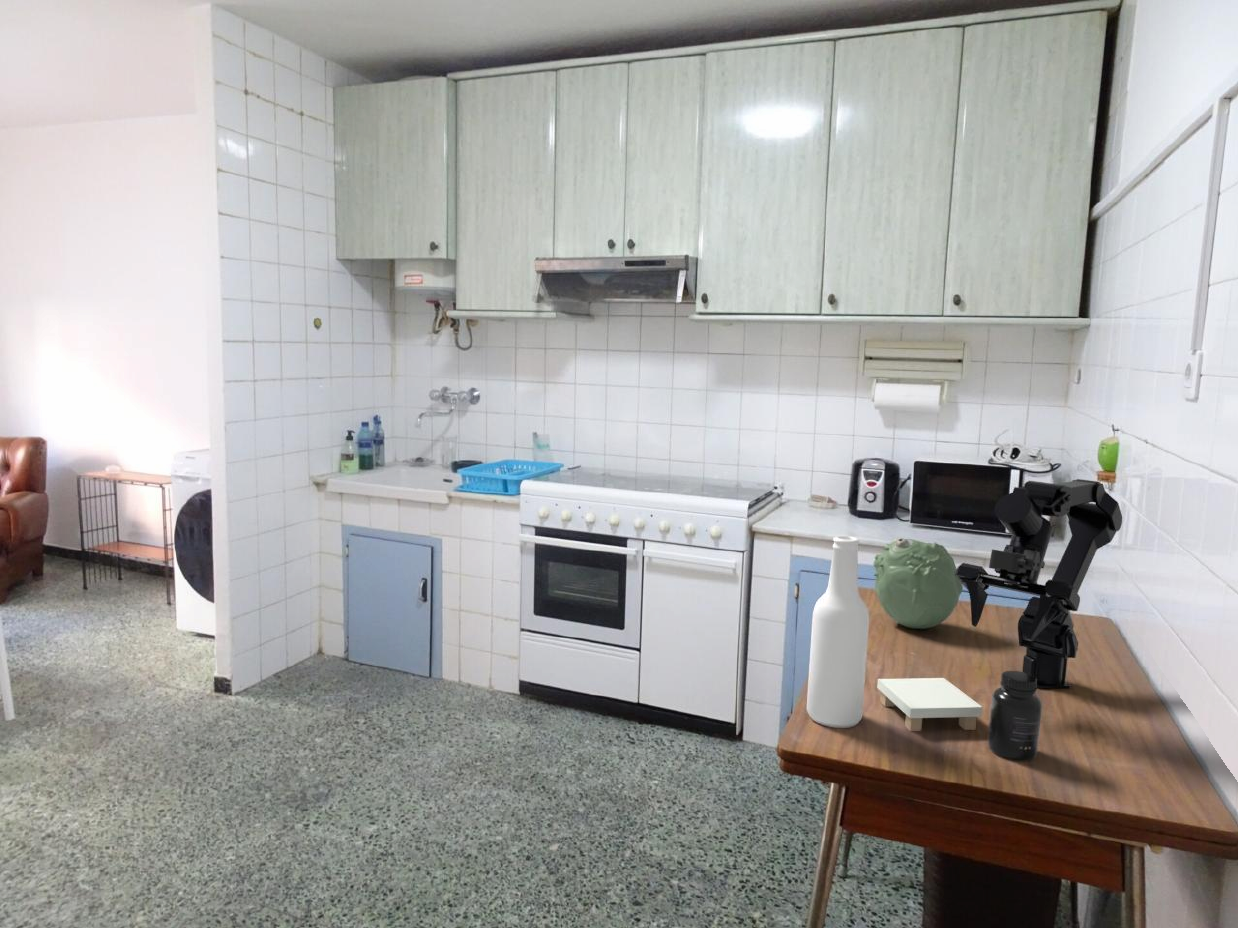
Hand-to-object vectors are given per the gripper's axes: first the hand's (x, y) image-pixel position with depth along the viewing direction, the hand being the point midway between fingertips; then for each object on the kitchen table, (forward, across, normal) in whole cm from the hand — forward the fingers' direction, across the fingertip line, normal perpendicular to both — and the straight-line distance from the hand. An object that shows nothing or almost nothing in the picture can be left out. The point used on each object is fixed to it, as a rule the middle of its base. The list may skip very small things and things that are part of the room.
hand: (1001, 632), depth 136 cm
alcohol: (+24, -16, -13) cm, 32 cm away
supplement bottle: (+19, +8, -3) cm, 20 cm away
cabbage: (-6, -31, +35) cm, 47 cm away
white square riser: (+17, -7, -2) cm, 19 cm away
